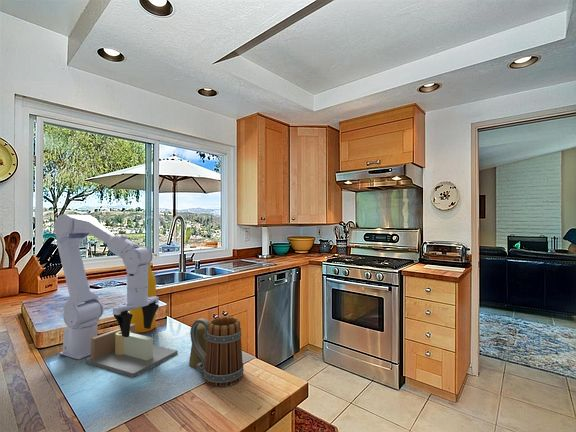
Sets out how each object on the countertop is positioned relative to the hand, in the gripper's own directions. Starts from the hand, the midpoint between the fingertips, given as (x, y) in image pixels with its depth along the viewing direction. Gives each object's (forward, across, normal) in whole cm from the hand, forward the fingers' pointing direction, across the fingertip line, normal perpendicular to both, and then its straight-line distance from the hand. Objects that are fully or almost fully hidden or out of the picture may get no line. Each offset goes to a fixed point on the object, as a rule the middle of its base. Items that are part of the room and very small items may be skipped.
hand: (136, 332), depth 93 cm
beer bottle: (+8, +19, +20) cm, 29 cm away
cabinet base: (+8, 0, +1) cm, 8 cm away
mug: (+8, +2, -28) cm, 29 cm away
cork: (+8, +6, -19) cm, 22 cm away
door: (+7, 0, +1) cm, 7 cm away
